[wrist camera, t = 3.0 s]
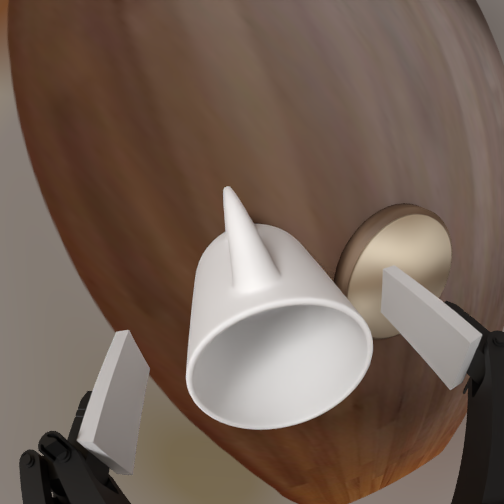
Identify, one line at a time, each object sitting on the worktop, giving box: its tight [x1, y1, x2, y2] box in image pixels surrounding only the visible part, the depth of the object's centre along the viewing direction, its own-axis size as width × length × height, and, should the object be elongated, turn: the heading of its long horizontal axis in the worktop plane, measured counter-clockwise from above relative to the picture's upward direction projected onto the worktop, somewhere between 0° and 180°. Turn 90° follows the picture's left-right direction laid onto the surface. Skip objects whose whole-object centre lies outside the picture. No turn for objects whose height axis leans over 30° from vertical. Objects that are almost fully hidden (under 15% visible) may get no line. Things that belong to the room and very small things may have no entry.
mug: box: [186, 186, 373, 430], centre depth 15 cm, size 9×12×11 cm
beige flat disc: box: [334, 203, 452, 340], centre depth 22 cm, size 13×13×2 cm
